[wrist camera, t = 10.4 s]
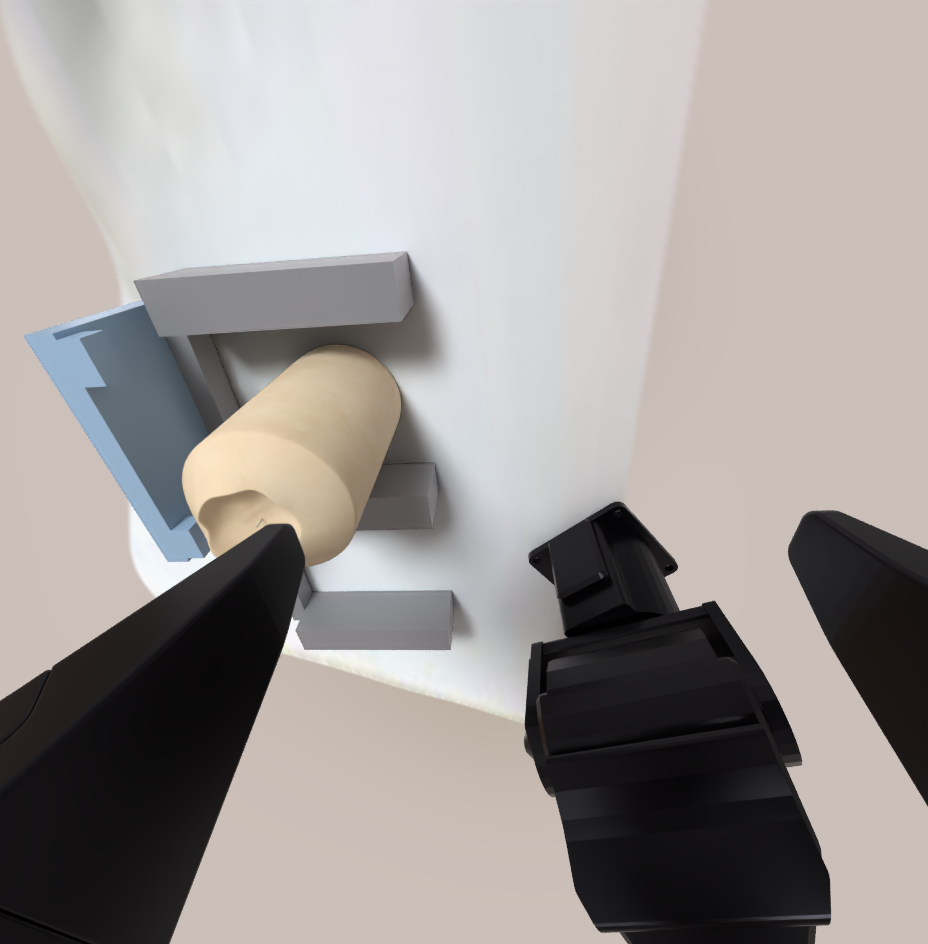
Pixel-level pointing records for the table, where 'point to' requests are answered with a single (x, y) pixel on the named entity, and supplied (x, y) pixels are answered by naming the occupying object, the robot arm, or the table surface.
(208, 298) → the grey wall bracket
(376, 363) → the candle
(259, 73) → the table surface
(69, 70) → the table surface
